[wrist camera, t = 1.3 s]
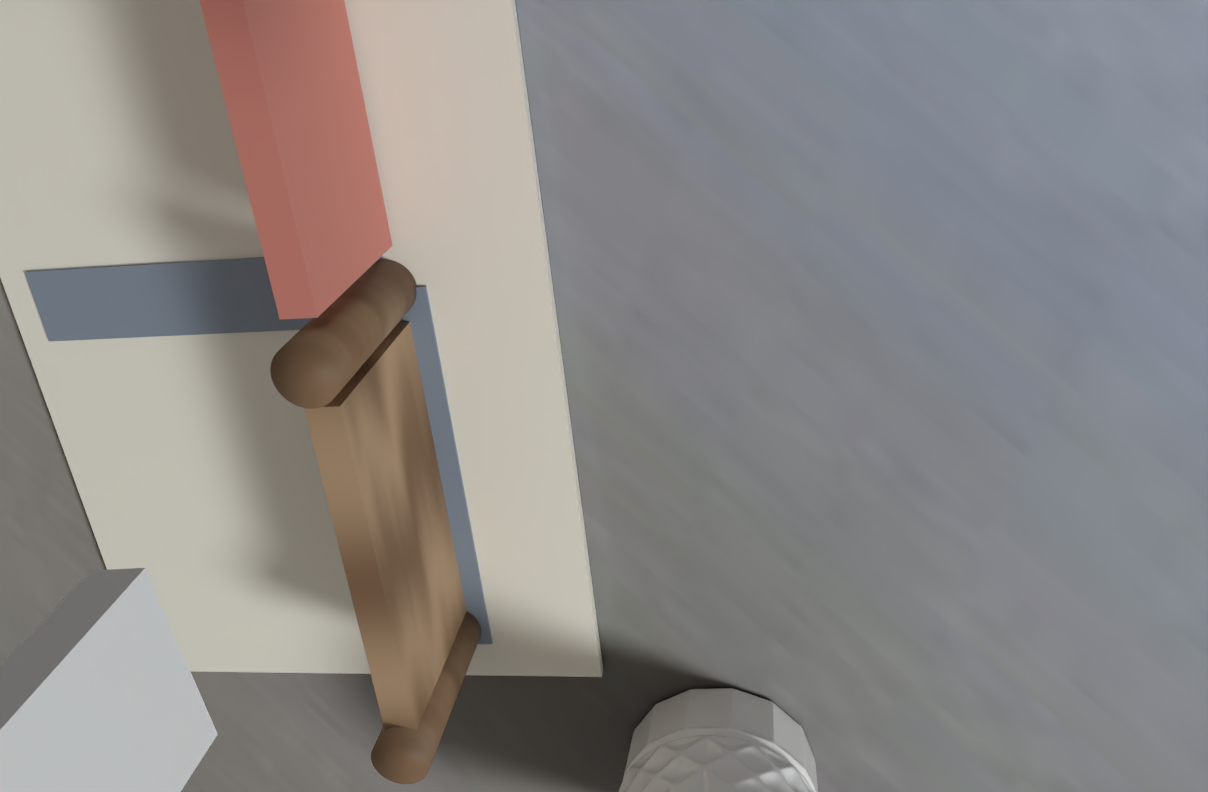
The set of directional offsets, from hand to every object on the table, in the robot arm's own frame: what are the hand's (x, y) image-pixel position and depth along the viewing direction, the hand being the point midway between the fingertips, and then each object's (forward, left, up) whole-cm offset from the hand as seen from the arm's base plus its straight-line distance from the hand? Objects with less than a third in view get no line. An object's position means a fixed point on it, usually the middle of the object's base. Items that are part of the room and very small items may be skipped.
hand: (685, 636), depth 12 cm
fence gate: (-4, -11, -19) cm, 22 cm away
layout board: (+4, -15, -20) cm, 25 cm away
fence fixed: (+9, -11, -20) cm, 24 cm away
